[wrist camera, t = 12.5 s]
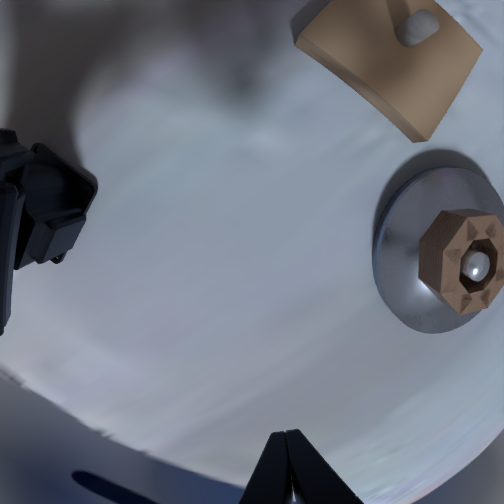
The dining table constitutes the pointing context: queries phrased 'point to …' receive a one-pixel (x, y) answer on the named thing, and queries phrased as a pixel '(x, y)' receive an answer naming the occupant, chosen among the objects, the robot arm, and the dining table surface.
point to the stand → (395, 57)
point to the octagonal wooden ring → (449, 257)
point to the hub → (407, 244)
